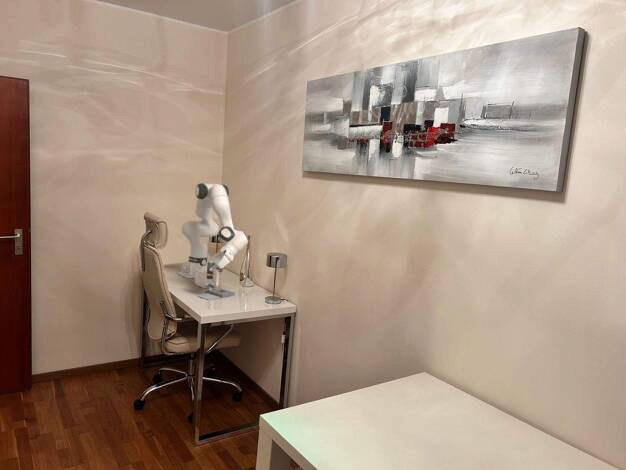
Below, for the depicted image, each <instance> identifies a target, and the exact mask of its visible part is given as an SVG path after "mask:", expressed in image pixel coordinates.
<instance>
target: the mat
mask: <svg viewBox="0 0 626 470" xmlns="http://www.w3.org/2000/svg"><path fill="white" fill-rule="evenodd" d="M196 297H197V298H200V299H203V300H207V301H212V300H216V299H221V298H220V297H218V296H215V295H212V294H208V293H204V294H199V295H196Z"/></svg>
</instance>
